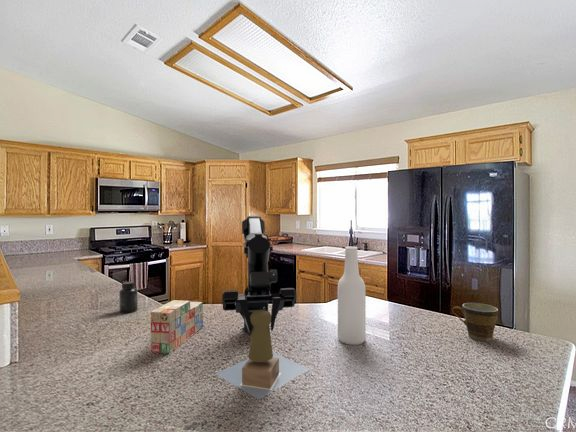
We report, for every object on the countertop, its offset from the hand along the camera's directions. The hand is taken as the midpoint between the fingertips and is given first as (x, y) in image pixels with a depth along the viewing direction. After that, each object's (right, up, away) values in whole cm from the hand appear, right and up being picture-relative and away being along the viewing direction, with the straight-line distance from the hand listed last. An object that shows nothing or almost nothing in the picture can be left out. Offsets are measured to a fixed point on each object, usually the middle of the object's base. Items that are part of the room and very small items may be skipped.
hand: (261, 331), depth 74 cm
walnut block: (0, -12, +1) cm, 12 cm away
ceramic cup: (+68, -12, +27) cm, 74 cm away
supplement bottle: (-61, -13, +56) cm, 84 cm away
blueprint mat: (0, -12, +5) cm, 13 cm away
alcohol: (+27, -12, +25) cm, 39 cm away
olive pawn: (0, -7, +1) cm, 7 cm away
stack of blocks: (-29, -13, +27) cm, 42 cm away
